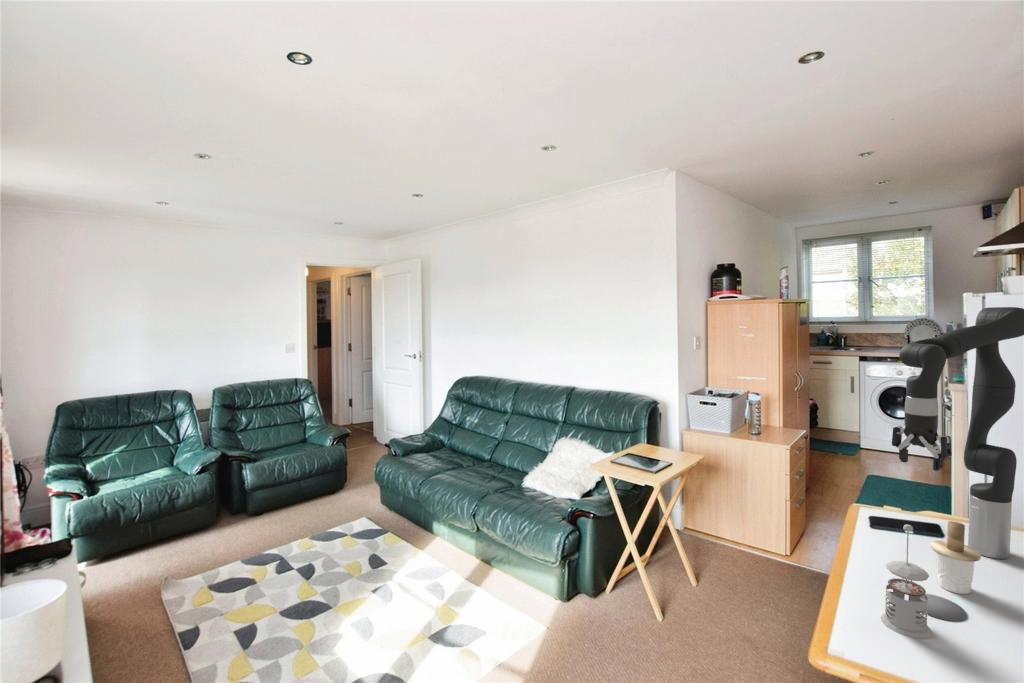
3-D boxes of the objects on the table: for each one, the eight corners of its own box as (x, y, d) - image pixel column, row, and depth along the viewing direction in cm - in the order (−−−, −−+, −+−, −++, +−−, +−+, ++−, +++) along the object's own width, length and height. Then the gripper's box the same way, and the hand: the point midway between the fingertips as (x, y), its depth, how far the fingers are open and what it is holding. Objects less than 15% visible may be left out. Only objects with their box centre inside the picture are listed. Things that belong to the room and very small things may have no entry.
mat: (926, 591, 133) (926, 589, 133) (976, 614, 122) (976, 613, 122) (899, 600, 129) (899, 598, 129) (947, 625, 119) (947, 623, 119)
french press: (878, 627, 119) (881, 526, 117) (882, 604, 128) (884, 510, 126) (932, 644, 113) (935, 538, 111) (931, 618, 121) (935, 520, 120)
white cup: (981, 597, 129) (982, 560, 129) (946, 594, 131) (947, 558, 130) (960, 580, 137) (961, 545, 136) (928, 578, 139) (929, 543, 138)
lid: (945, 540, 140) (946, 513, 139) (989, 557, 130) (990, 528, 130) (922, 547, 136) (923, 520, 136) (966, 564, 127) (967, 535, 126)
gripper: (958, 415, 139) (956, 471, 140) (903, 406, 152) (902, 457, 153) (941, 418, 136) (940, 475, 137) (886, 408, 149) (885, 461, 151)
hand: (920, 465), depth 145 cm, fingers open, 8 cm apart
